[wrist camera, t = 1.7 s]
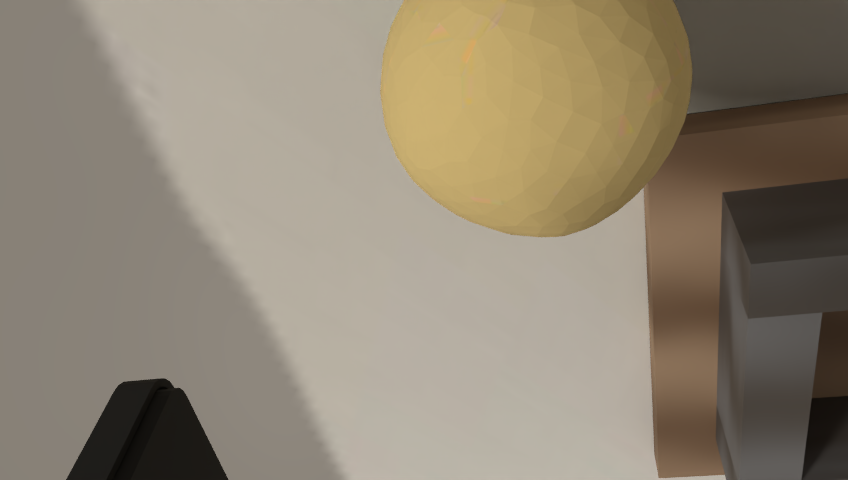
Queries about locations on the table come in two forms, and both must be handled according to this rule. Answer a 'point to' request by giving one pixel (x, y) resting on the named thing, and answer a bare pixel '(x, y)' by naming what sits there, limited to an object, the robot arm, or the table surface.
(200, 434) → the robot arm
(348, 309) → the table surface
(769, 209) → the lamp socket
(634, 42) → the light bulb
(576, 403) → the table surface
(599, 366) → the table surface
